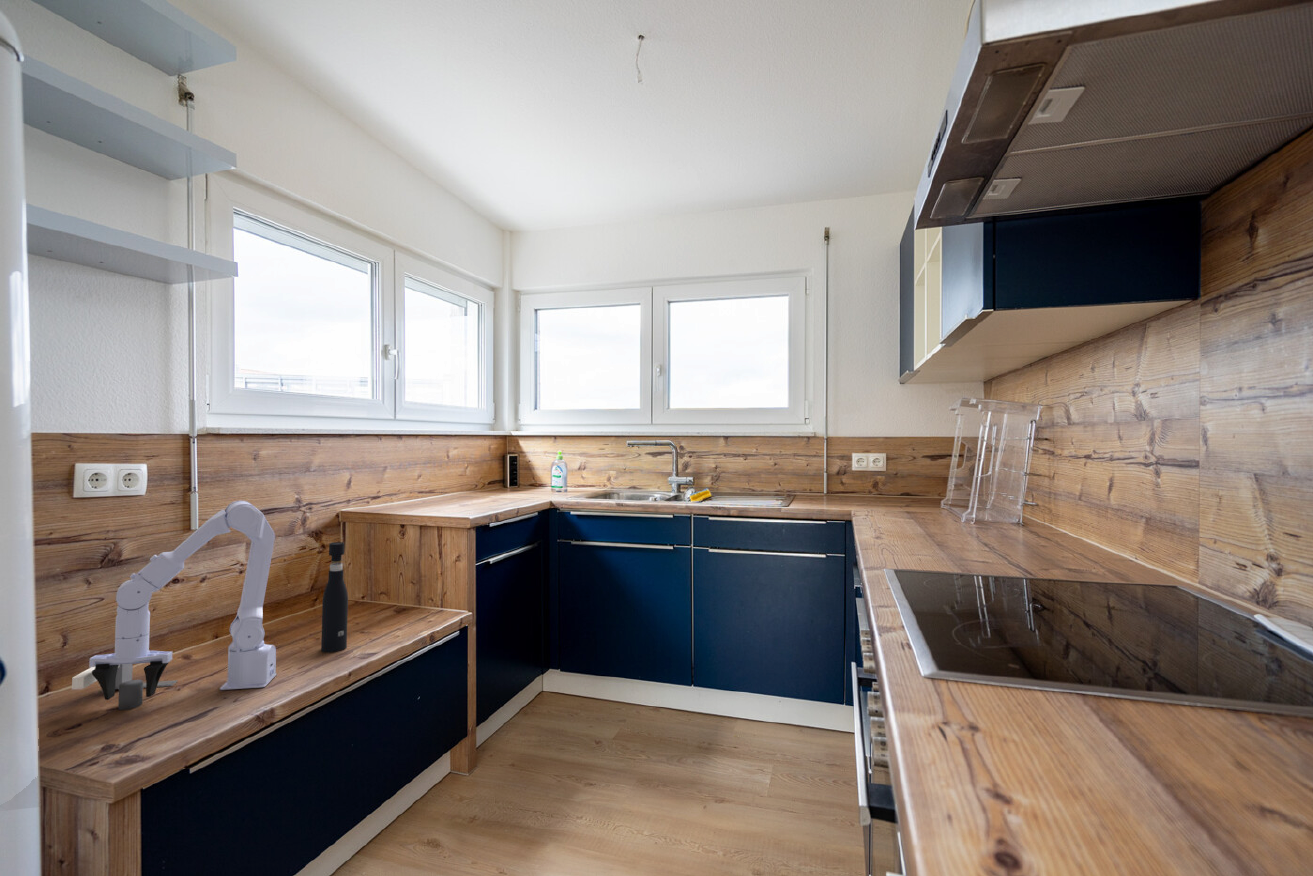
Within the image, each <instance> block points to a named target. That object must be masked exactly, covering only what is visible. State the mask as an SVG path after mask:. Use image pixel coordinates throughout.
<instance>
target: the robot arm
mask: <svg viewBox="0 0 1313 876" xmlns="http://www.w3.org/2000/svg"><path fill="white" fill-rule="evenodd" d="M268 521H269V520H267V518H266V516H265V514H264V513H263V512H262V511H260V510H259V509H258V508H257V507H256V506H254V504H252V503H251V502H248V501H247V500H235V501H232V502H231V503H230V504H229V503H228V505H227V506H226V507H225V509H224V508H223V509H221V510H219V511H218V512H216V513H214V515H212V516H211V517H210V518H208V519H207V520H206V521H205V522H204V523H202V524H201V526H199V528H197V529H196V530H195V531H194V532H193V533H191V535H189V536H188V537H187V538H186V539H185V540H184V541H183V542H182V543H181V544H179V545H178V546H177V547H176V548H175V549H173V550H172V551H163V552H161V553H159V554H158V555H157V554H154V555H153V556H151V557H150V559H149V561H150V562H148V564H146V565H145V566H144V567H142V568H141V569H140V570H139V571H138V572H136V573H135V572H133V573H132V574H131V575H130V576H129V578H130V579H128V580H126V581H124V582H123V583H121V584H120V586H119V587H118V589H117V592H116V595H115V601H116V603H117V607H116V616H115V631H114V632H115V635H114V653H107V654H96V655H93V656H92V657H90V658H89V662H88V664H89V665H88V666H89V668H91V667H96V668H95V669H94V670H93V671H92V675H93V676H94V677H95V678H96V680H97V681H96V682H97V683H98V684H99V686H100V688H101V690H102V694H103V697H104V700H105V701H107V700H111V699H112V698H114V696H115V694H116V689H115V684H116V674H117V670H118V666H119V665H120V664H133V665H134V664H135V665H136V664H148V665H146V666H145V667H144V668H143V671H144V676H145V682H146V688H145V697H146V698H151V697H152V696H154V695H155V694H156V691H157V688H158V687H157V684H158V682H159V681H160V679H161V677H162V675H163V672H164V671H165V669H166V668H167V666H168V664H169V662H171V661H173V650H172V651H171V650H170V651H161V650H150V649H149V648H150V626H151V625H150V624H151V622H150V621H151V612H150V610H149V608H150V607H149V605H150V601H151V599H152V596H153V593H155V592H158V591H159V590H161V589H162V588H163V587H165V586H166V585H167V584H168V583H169V582H171V580H173V579H174V578H175V577H177V575H178V574H180V572H182V571H183V570H184V568H185V561H186V560H187V559H188V558H189V557H191V556H192V555H193V554H194V553H195V552H197V551H198V550H200V549H202V547H203V546H205V545H206V544H207V543H208V542H210V541H211V540H212V539H213V538H214V537H216V536H220V535H223V534H224V535H225V534H228V533H231V532H232V531H231V530H230V528H232V529H234V530H235V531H238V532H240V533H243V534H244V536H246V537H247V538H248V539H249V540H250V541H251V543H250V546H249V547H250V548H249V553H248V558H247V563H246V570H245V575H244V576H245V577H244V580H243V587H242V592H241V598H240V602H239V607H238V608H237V612H236V616H235V618H234V620H233V621H232V622H231V624H230V626H229V634H230V636H231V637H232V641H231V643H230V644H229V645H228V646H227V647H228V649H227V650H228V651H227V652H228V653H227V681H226V682H225V683H224V684H222V686H221V687H220V688H219V690H220V691H226V690H239V689H241V690H242V689H243V690H244V689H257V688H265V687H266V686H267V685H268V684H269V683H270V682H271V681H272V680H273V679H274V678H275V677H276V676H277V673H276V670H277V669H276V667H277V665H276V664H277V663H276V662H277V648H276V645H274V644H266V643H265V641H264V638H265V634H266V633H265V629H264V627H263V619H264V617H263V616H264V615H263V614H264V613H263V609H264V608H263V607H264V601H265V597H266V590H267V585H268V579H269V574H270V569H271V568H270V567H271V561H272V557H273V551H274V547H275V546H274V545H275V539H276V534H275V531H274V529H273V528H272V527H271V525H270V523H269V522H268Z"/></svg>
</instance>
